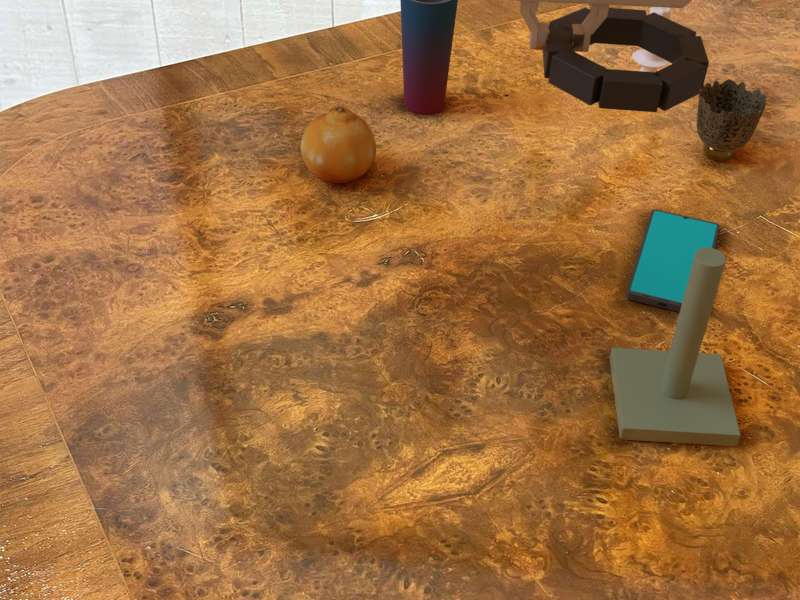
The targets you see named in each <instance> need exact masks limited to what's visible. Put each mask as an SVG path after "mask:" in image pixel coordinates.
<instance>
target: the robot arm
mask: <svg viewBox="0 0 800 600" xmlns="http://www.w3.org/2000/svg"><path fill="white" fill-rule="evenodd" d="M514 1H517V2H519V12H520V15H521V17H522V19H523V21H524V23H525V24H526V27H527V28H528V30H529V39H528V41H529V44H528V46H529V48H528V49H529V50H531V51H532V50H533V51H536V50H537V51H543V50H547V41H548V40H549V23H550V22H545V21H540V20H539V19H538V16H537V15H536V14H537V13H538V10H539V3H560V4H577V5H578V4H579V5H581V4H582V5H588V6H589V9H590V13H589V14H588V16H587V17H586V18H585V20H584V21H583V22H582V24H572V27H571V41H572V50H573V51H576V53H581V52H582V53H588V52H589V50H590V45H589V44H590V37H591V34H593V33H594V32H595V31H596V30H597V28H598V27H599V26H600V25H601V24H602V22H603V21H604V20H605V19H606V18H607V16H608V10H609V8H610V6H624V7H647V8H651V7H665V8H671V9H683V8H685V7H686V6H688V5H689V4H690V3H691V2H692V1H693V0H512V2H514Z"/></svg>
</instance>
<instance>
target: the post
mask: <svg viewBox="0 0 800 600" xmlns="http://www.w3.org/2000/svg"><path fill="white" fill-rule="evenodd" d="M726 262H727V258H726V255H725V254H724V253H723V252H721V251H720V250H719V249H713V248H701V249H699V250H698V251H697V252H696V253H695V257H694V261H693V264H692V268H691V272H690V276H689V279H688V283H687V287H686V291H685V294H684V298H683V302H682V306H681V309H680V312H679V313H678V318H677V321H676V325H675V328H674V329H675V330H674V331H673V332H674V333H673V336H672V340H671V343H670V347H669V350H661V349H645V348H644V349H642V348H627V347H624V348H623V347H611V350H610V354H609V366H610V373H611V382H612V389H613V394H614V395H613V396H614V404H615V413H616V420H617V429H618V434H619V440H622V441H638V442H652V443H653V442H655V443H669V444H670V443H671V444H672V443H673V444H687V445H688V444H689V445H705V446H722V447H738V444H739V441H740V439H741V431H740V426H739V422H738V419H737V415H736V414H737V413H736V410H735V406H734V402H733V399H732V394H731V390H730V386H729V382H728V378H727V374H726V370H725V365H724V362H723V358H722V354H721V353H712V352H701V349H702V348H701V347H702V345H703V340H704V337H705V335H706V330H707V327H708V324H709V321H710V317H711V313H712V310H713V307H714V304H715V299H716V297H717V293H718V290H719V286H720V284H721V283H720V282H721V279H722V277H723V272H724V269H725V265H726Z"/></svg>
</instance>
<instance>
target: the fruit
mask: <svg viewBox="0 0 800 600" xmlns="http://www.w3.org/2000/svg"><path fill="white" fill-rule="evenodd" d="M300 154H301V157H302V160H303V162H304V164H305V166H306V168H307V169H308V170H309V172H311V173H312V174H313V175H314V176H315V177H317V178H319V179H320V180H321V181H322V180H323V181H325V182H329V183H337V184H343V183H345V184H346V183H350V182H353V181H356V180H358V179H360V178H362V177H363V176H364V175H365V174H366V173H367V172H368V171H369V170H370V168H371V167H372V166H373V164H374V162H375V159H376V156H377V143H376V139H375V135H374V133H373V130H372V128H371V126H370V125H369V124H368V123H367V121H365V119H363V118H362V117H361V116H359V115H358V114H357V113H354V112H353V111H351V110H350V109H348V108H347V107H345V106H344V107H343V106H342V107H341V106H333V107H331V108H330V109H329V110H328V112H326V113H322V114H320V115H318V116H317V117H315V118H313V120H311V121H310V123H309V124H308V125H307V126H306V128H305V129H304V132H303V134H302V137H301V141H300Z"/></svg>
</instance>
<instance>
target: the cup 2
mask: <svg viewBox="0 0 800 600" xmlns="http://www.w3.org/2000/svg"><path fill="white" fill-rule="evenodd" d="M746 86H747V84H746V83H745V82H743V81H741V82H739V83H737V82H736V81H734V80H732V79H730V78H728V79H726V80H724V81H723V82H722V83H720V81H718V80H717V79H715V80H713V84H711V83H710V82H707V83H705V85H704V84H703V88H702V90H701V91H700V94H698V102H697V111H696V112H697V113H696V131H697V135H698V138H699V139H700V141H701V142H702V143H703V147H702V149H703V153H704V154H705V156H706V157H707V158H709V159H711V160H713V161H719V162H724V161H725V162H726V161H728V160H730V159H732V158H733V157H734V155H735V154H736V151H737V150H739V149H742V148H743V147H744V146H746V145H747V144H748V143H749V142H750V140H751V138H752V137H753V135H754V133H755V131H756V129H757V127H758V125H759V122H760V120H761V117H762V116H763V113H764V111H765V108H766V106H767V104H768V103H767V95H766V94H761V93H762V91H761V89H760V88H755V89H754V90H753V91H752V92H751V90H748V89H746Z"/></svg>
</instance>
